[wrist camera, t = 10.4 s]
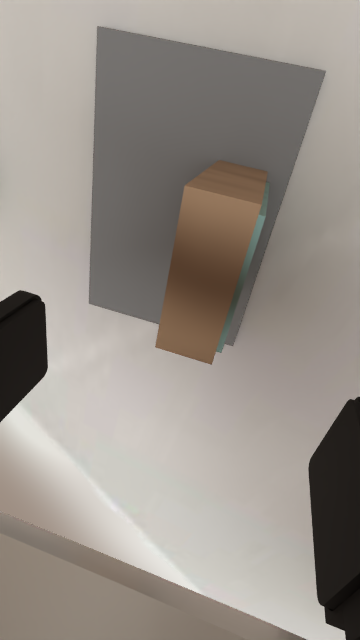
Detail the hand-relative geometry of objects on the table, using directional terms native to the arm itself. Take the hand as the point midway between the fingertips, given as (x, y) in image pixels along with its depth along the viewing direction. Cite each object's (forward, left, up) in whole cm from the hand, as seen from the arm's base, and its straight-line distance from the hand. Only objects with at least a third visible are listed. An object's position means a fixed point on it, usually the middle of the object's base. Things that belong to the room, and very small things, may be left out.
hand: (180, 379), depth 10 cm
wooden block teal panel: (0, +1, -15) cm, 15 cm away
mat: (0, +4, -15) cm, 16 cm away
